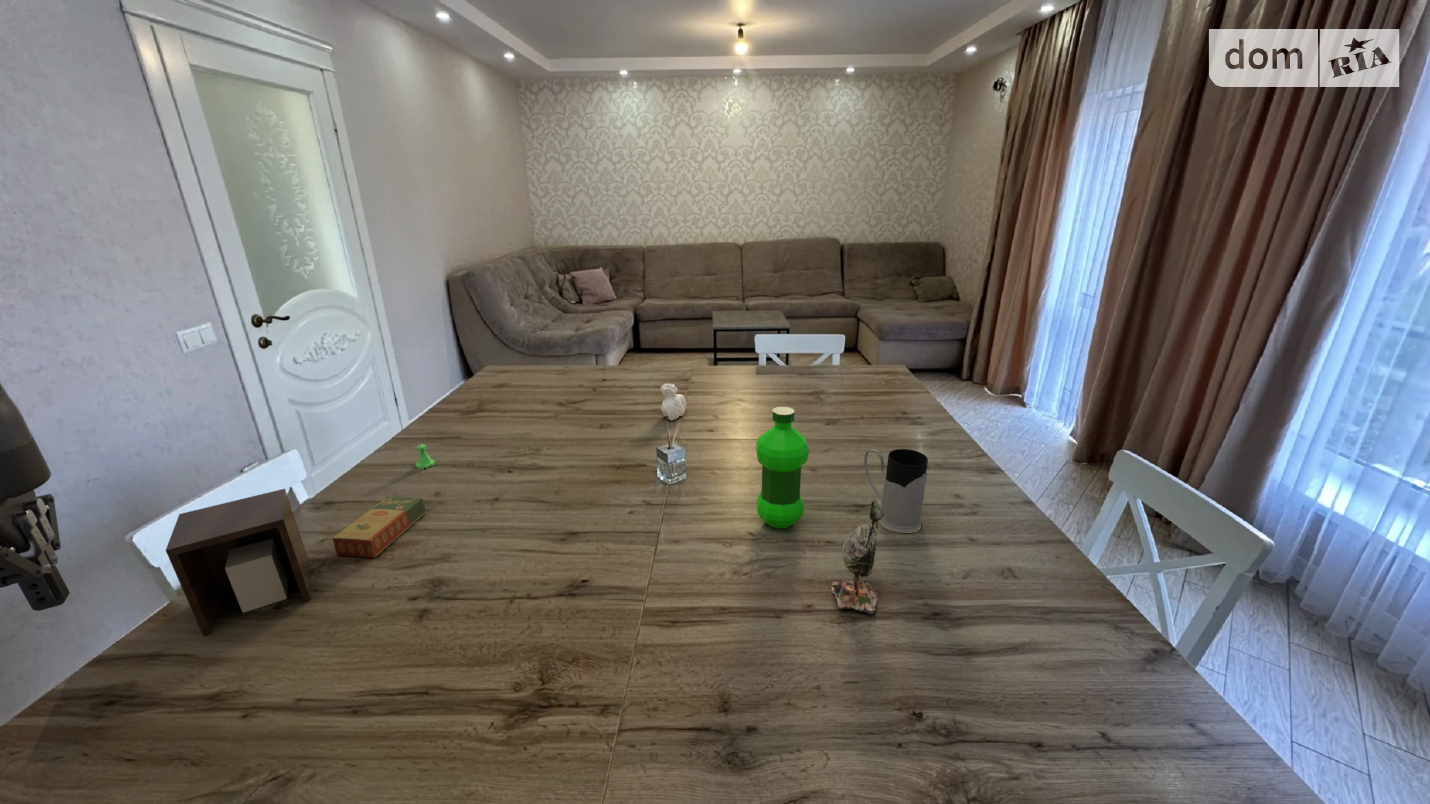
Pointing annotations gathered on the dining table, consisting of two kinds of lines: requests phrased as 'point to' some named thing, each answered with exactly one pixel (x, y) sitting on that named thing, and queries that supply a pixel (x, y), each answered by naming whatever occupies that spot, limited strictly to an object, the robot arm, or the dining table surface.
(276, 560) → the cream box
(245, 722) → the dining table surface
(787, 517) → the plastic bottle
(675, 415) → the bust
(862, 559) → the bird figurine
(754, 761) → the dining table surface
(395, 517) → the carton
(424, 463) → the game piece
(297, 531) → the walnut shelf
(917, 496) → the glass holder
